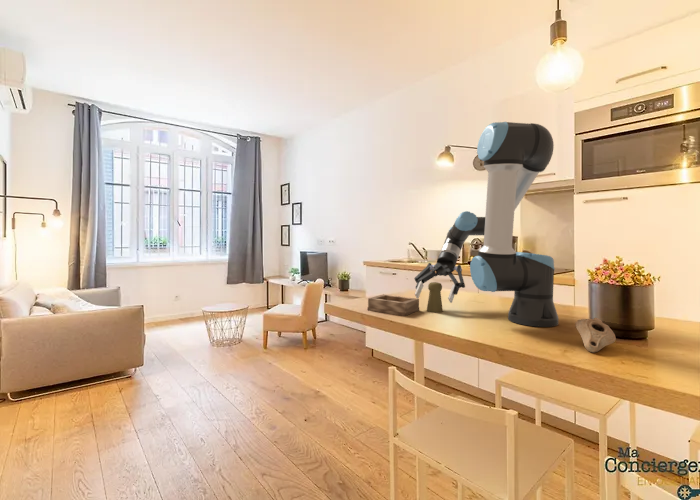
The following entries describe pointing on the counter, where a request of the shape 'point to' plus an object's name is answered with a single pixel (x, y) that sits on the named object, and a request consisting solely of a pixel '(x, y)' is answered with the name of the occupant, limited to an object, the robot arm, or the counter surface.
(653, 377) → the counter surface
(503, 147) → the robot arm
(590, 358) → the counter surface
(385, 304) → the brown tray
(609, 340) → the pottery oil lamp
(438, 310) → the cork
